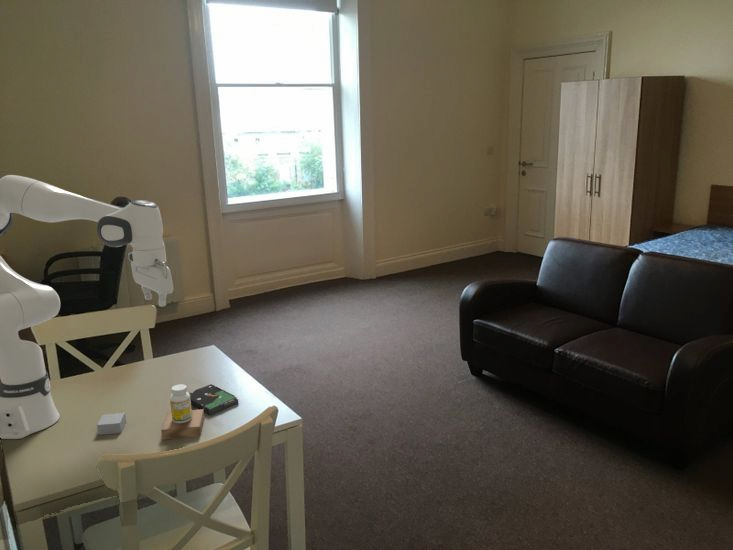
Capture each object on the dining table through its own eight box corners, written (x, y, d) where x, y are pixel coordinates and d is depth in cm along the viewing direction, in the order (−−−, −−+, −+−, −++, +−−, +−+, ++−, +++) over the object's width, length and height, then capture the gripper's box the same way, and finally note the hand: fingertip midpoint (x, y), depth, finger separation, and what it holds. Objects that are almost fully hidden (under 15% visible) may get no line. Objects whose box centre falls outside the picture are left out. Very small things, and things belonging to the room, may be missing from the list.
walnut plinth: (162, 439, 163) (161, 429, 162) (168, 421, 172) (167, 412, 172) (200, 436, 164) (199, 426, 163) (204, 418, 174) (203, 409, 173)
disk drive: (182, 403, 185) (210, 417, 175) (181, 394, 184) (209, 409, 174) (211, 391, 192) (239, 405, 183) (210, 383, 192) (238, 396, 182)
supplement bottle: (188, 424, 165) (184, 392, 162) (169, 423, 165) (165, 391, 163) (195, 414, 170) (192, 383, 167) (176, 414, 170) (173, 382, 168)
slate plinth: (98, 434, 166) (96, 425, 165) (104, 424, 172) (102, 414, 171) (121, 432, 167) (119, 423, 166) (126, 422, 173) (125, 412, 172)
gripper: (176, 260, 169) (181, 307, 173) (146, 250, 184) (151, 293, 188) (154, 264, 165) (160, 313, 169) (125, 253, 180) (131, 298, 183)
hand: (155, 302), depth 178 cm, fingers open, 8 cm apart
